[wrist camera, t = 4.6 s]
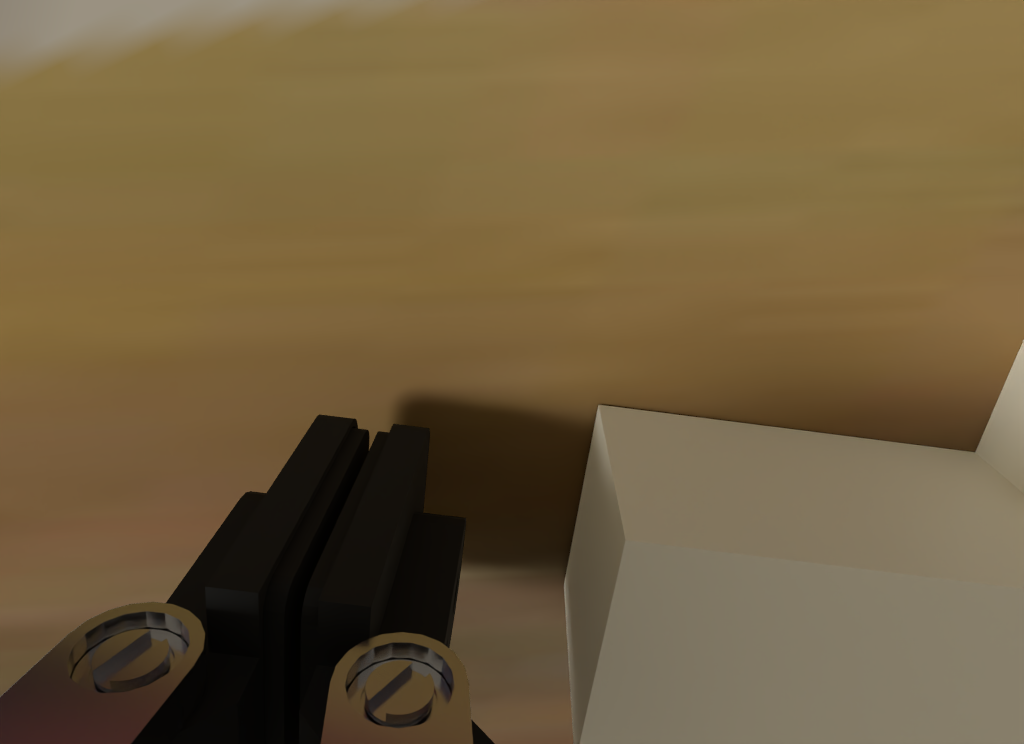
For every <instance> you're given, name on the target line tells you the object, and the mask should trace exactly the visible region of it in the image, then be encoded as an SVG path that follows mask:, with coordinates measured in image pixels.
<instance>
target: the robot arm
mask: <svg viewBox="0 0 1024 744" xmlns="http://www.w3.org/2000/svg"><path fill="white" fill-rule="evenodd" d="M429 439H430V429H429V428H423V427H415V426H407V425H399V424H393V426H392V428H391V430H390V433H388V432H380V431H379V432H378V433H377V435H376V437H375V439H374V441H373V443H372V446H371V448H370V450H369V431H368V430H364V429H358V425H357V421H356V419H351V418H343V417H335V416H327V415H318V416H317V417H316V419H315V420H314V422H313V423H312V425H311V426H310V428H309V429H308V431H307V433H306V434H305V436H304V437H303V439H302V440H301V442H300V443H299V445H298V446H297V448H296V449H295V451H294V452H293V454H292V455H291V457H290V458H289V460H288V461H287V463H286V464H285V466H284V467H283V469H282V470H281V472H280V474H279V475H278V477H277V478H276V480H275V481H274V483H273V484H272V486H271V487H270V489H269V490H268V492H267V493H260V492H252V491H250V492H247V493H245V494H244V495H243V496H242V497H241V498H240V500H239V501H238V503H237V504H236V505H235V507H234V508H233V510H232V511H231V512H230V514H229V515H228V517H227V518H226V519H225V521H224V522H223V524H222V525H221V526H220V528H219V529H218V531H217V532H216V533H215V535H214V536H213V538H212V539H211V540H210V542H209V543H208V545H207V546H206V548H205V549H204V550H203V552H202V553H201V555H200V556H199V557H198V559H197V560H196V562H195V563H194V564H193V566H192V567H191V569H190V570H189V571H188V573H187V574H186V576H185V577H184V578H183V580H182V581H181V583H180V584H179V585H178V587H177V588H176V590H175V591H174V592H173V594H172V595H171V597H170V598H169V599H168V601H167V602H166V603H158V602H147V603H136V604H129V605H125V606H122V607H118V608H114V609H111V610H108V611H106V612H103V613H101V614H99V615H97V616H95V617H93V618H91V619H89V620H87V621H85V622H84V623H83V624H81V625H80V626H79V627H77V628H76V629H74V630H73V631H72V632H70V633H69V634H68V635H67V636H66V637H65V638H64V639H62V640H61V641H60V642H59V643H58V644H57V645H56V646H55V647H54V648H53V649H52V650H51V651H49V652H48V653H47V654H46V655H45V656H44V657H43V658H42V659H41V660H40V661H39V662H38V663H36V664H35V665H34V666H33V667H32V668H31V669H30V670H29V671H28V672H27V673H26V674H25V675H23V676H22V677H21V678H20V679H19V680H18V681H17V682H16V683H15V684H14V685H13V686H12V687H10V688H9V689H8V690H7V691H6V692H5V693H4V694H3V695H2V696H1V697H0V744H494V743H493V742H492V741H491V739H490V738H489V737H488V736H487V735H486V734H485V733H484V732H483V731H482V730H481V729H480V728H479V727H478V726H477V725H476V724H475V723H474V722H473V721H472V719H471V707H470V692H469V681H468V678H467V674H466V670H465V666H464V665H463V663H462V662H461V661H460V659H459V658H458V656H457V655H456V654H455V652H453V651H452V650H451V649H449V646H450V640H451V634H452V628H453V621H454V615H455V608H456V601H457V594H458V587H459V579H460V571H461V563H462V554H463V546H464V537H465V528H466V518H461V517H453V516H445V515H437V514H429V513H423V509H424V498H425V486H426V475H427V463H428V452H429Z"/></svg>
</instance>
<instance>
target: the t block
mask: <svg viewBox="0 0 1024 744" xmlns="http://www.w3.org/2000/svg"><path fill="white" fill-rule="evenodd" d="M564 595H565V611H566V627H567V644H568V660H569V676H570V692H571V708H572V725H573V741H574V744H1024V340H1023V342H1022V345H1021V347H1020V349H1019V352H1018V354H1017V356H1016V359H1015V361H1014V363H1013V366H1012V368H1011V370H1010V373H1009V375H1008V377H1007V380H1006V382H1005V384H1004V387H1003V389H1002V391H1001V394H1000V396H999V398H998V401H997V403H996V405H995V407H994V410H993V412H992V414H991V417H990V419H989V421H988V424H987V426H986V428H985V431H984V433H983V435H982V438H981V440H980V442H979V445H978V447H977V449H976V452H969V451H961V450H953V449H945V448H937V447H929V446H921V445H913V444H905V443H898V442H890V441H882V440H874V439H866V438H858V437H850V436H842V435H834V434H826V433H819V432H811V431H803V430H795V429H787V428H779V427H771V426H763V425H755V424H747V423H739V422H732V421H724V420H716V419H708V418H700V417H692V416H684V415H676V414H668V413H660V412H653V411H645V410H637V409H629V408H621V407H613V406H605V405H598V410H597V415H596V420H595V425H594V431H593V436H592V441H591V446H590V451H589V457H588V462H587V467H586V472H585V477H584V483H583V488H582V493H581V498H580V503H579V509H578V514H577V519H576V524H575V529H574V535H573V540H572V545H571V550H570V555H569V561H568V566H567V571H566V576H565V581H564Z"/></svg>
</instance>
